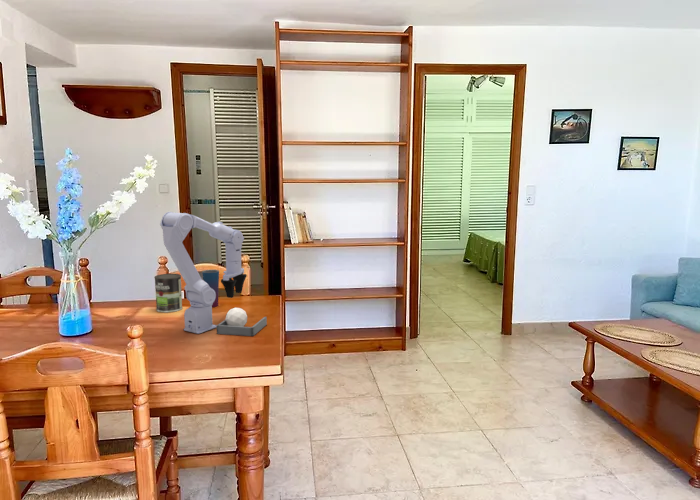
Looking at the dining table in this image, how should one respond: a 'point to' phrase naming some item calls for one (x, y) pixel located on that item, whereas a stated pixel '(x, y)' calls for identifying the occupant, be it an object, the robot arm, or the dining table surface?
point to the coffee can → (168, 292)
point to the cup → (212, 282)
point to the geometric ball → (236, 317)
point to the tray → (241, 328)
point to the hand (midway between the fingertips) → (234, 295)
